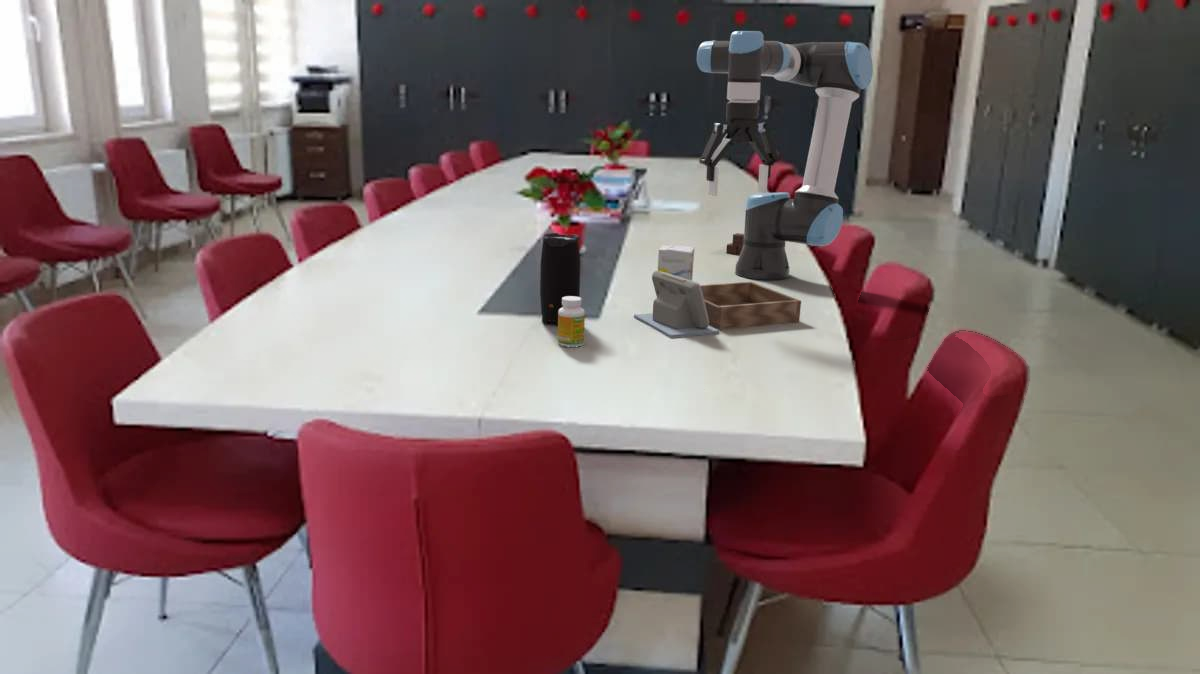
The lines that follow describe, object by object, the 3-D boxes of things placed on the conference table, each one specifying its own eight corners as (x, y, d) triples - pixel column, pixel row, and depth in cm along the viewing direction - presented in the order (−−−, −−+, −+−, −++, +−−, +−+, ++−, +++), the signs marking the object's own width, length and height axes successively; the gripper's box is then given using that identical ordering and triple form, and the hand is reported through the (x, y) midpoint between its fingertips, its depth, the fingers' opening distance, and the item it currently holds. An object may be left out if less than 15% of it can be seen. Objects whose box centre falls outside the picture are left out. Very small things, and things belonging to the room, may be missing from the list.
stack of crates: (770, 254, 299) (772, 233, 297) (752, 261, 287) (753, 239, 285) (728, 249, 307) (729, 228, 305) (708, 255, 295) (709, 234, 293)
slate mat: (680, 313, 219) (680, 311, 219) (719, 333, 203) (719, 330, 203) (633, 317, 214) (634, 314, 214) (670, 337, 198) (670, 335, 198)
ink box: (688, 297, 235) (691, 251, 232) (655, 295, 237) (657, 249, 233) (692, 290, 243) (695, 245, 240) (660, 287, 245) (662, 243, 242)
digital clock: (712, 330, 203) (715, 282, 200) (675, 333, 200) (677, 284, 197) (678, 312, 217) (681, 267, 214) (643, 315, 214) (645, 269, 211)
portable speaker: (558, 329, 202) (560, 240, 197) (531, 320, 208) (531, 234, 203) (587, 323, 208) (589, 236, 202) (560, 315, 214) (561, 230, 209)
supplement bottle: (574, 349, 188) (575, 302, 185) (552, 344, 191) (553, 298, 188) (588, 343, 192) (590, 297, 190) (567, 339, 195) (568, 293, 192)
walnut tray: (750, 301, 233) (751, 281, 232) (799, 321, 215) (801, 300, 213) (672, 307, 225) (673, 287, 223) (716, 329, 206) (717, 307, 205)
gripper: (779, 100, 223) (773, 189, 229) (687, 101, 213) (683, 193, 219) (797, 101, 216) (791, 193, 222) (703, 102, 207) (699, 198, 213)
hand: (737, 193), depth 221 cm, fingers open, 13 cm apart
